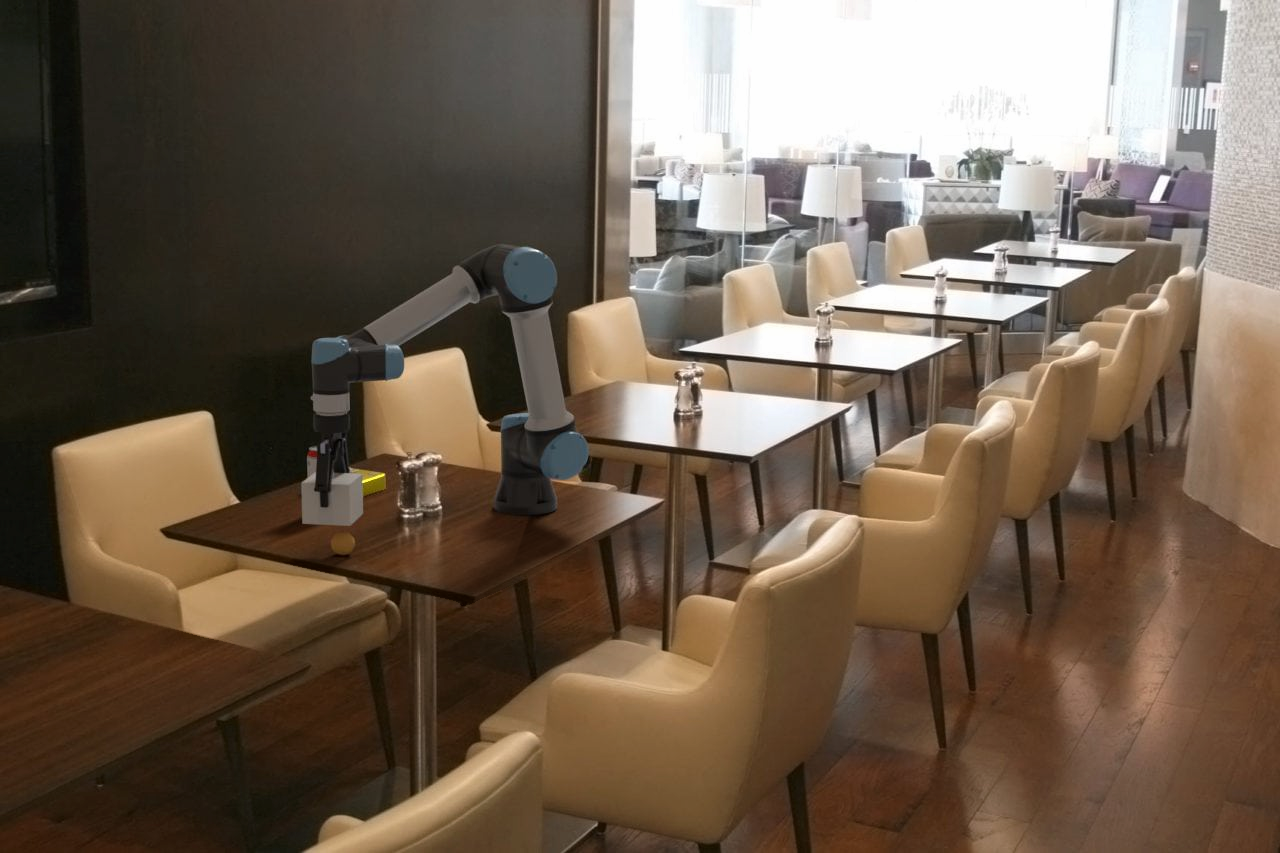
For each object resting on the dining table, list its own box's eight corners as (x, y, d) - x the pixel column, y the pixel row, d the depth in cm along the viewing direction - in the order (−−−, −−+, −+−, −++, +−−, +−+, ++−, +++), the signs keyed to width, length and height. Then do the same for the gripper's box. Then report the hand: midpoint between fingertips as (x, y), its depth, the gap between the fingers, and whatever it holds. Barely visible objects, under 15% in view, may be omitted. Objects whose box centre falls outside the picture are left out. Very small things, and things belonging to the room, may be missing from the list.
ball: (329, 540, 321) (346, 556, 321) (323, 546, 316) (341, 562, 316) (344, 524, 320) (361, 540, 321) (339, 530, 315) (356, 546, 316)
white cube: (363, 513, 322) (362, 473, 320) (350, 525, 312) (349, 484, 310) (316, 511, 323) (315, 471, 321) (302, 523, 313) (301, 482, 311)
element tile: (303, 495, 370) (302, 476, 369) (341, 482, 383) (341, 464, 382) (351, 502, 364) (351, 483, 363) (389, 490, 377) (388, 471, 376)
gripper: (329, 401, 324) (331, 501, 329) (297, 422, 302) (299, 528, 307) (363, 403, 324) (364, 502, 328) (333, 423, 302) (335, 529, 306)
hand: (333, 514), depth 317 cm, fingers closed on white cube, 10 cm apart
